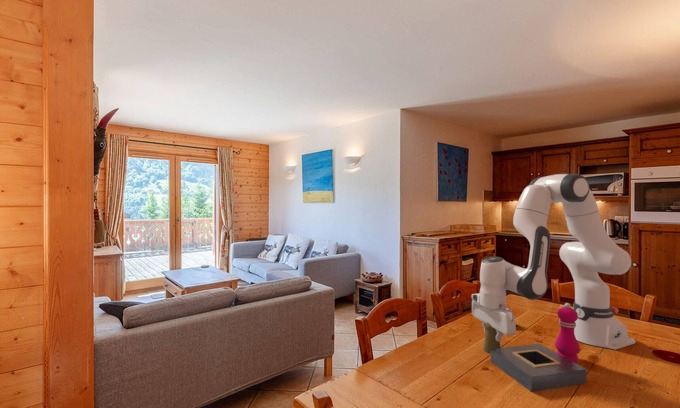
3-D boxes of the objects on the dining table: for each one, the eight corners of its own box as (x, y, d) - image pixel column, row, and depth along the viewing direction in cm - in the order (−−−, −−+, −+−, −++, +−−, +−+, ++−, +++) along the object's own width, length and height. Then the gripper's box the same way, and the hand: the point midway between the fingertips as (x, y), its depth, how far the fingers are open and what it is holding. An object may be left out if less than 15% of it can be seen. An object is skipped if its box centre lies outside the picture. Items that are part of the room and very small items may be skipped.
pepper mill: (575, 355, 117) (575, 301, 116) (583, 365, 110) (583, 307, 110) (552, 352, 119) (552, 299, 119) (558, 362, 112) (559, 305, 112)
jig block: (538, 355, 117) (539, 342, 117) (586, 383, 99) (586, 368, 99) (490, 361, 113) (490, 348, 112) (531, 391, 95) (531, 375, 95)
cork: (503, 355, 117) (503, 325, 117) (485, 353, 118) (485, 324, 118) (498, 347, 123) (498, 319, 123) (481, 346, 124) (481, 318, 124)
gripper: (520, 309, 111) (520, 349, 111) (482, 292, 131) (482, 326, 131) (505, 310, 110) (504, 350, 110) (468, 293, 130) (468, 327, 130)
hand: (492, 337), depth 121 cm, fingers closed on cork, 4 cm apart
